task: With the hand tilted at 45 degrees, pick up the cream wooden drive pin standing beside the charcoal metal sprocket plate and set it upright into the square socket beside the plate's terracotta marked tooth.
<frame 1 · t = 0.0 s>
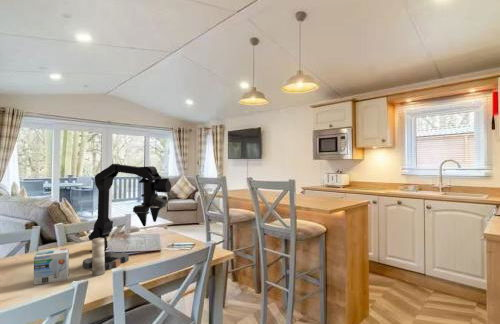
hand: (149, 223, 139), 15 cm above the table, tool pointing down, fingers open, 9 cm apart
light bulb box: (52, 279, 110), on the table
sprocket plate: (106, 263, 127), on the table
drive pin: (98, 273, 115), on the table
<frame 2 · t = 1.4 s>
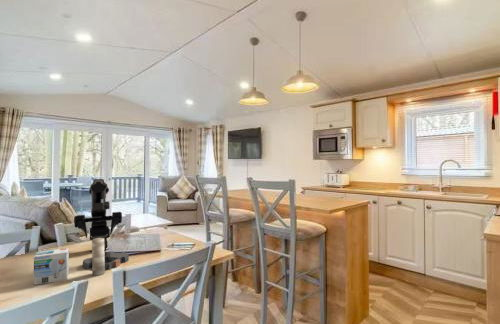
hand: (98, 235, 122), 13 cm above the table, tool tilted 45°, fingers open, 9 cm apart
nothing on the table moved.
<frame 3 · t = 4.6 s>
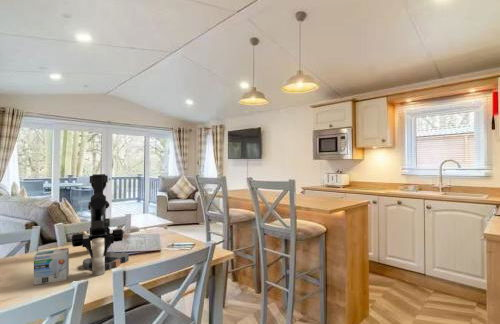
hand: (98, 256, 114), 8 cm above the table, tool tilted 45°, fingers closed on drive pin, 4 cm apart
drive pin: (98, 273, 115), on the table, touching gripper
everything else where it was.
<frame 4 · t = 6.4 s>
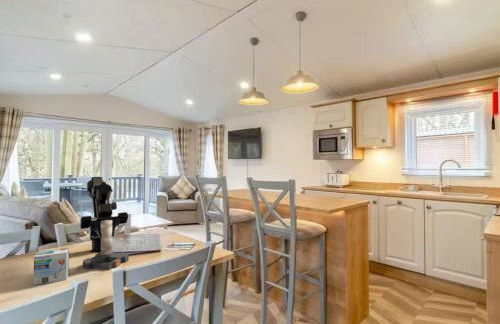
hand: (107, 236, 122), 13 cm above the table, tool tilted 45°, fingers closed on drive pin, 4 cm apart
drive pin: (106, 253, 123), point 6 cm above the table, touching gripper
everything else where it was.
when the fingers open (9 cm above the table, at t = 8.2 s): drive pin drops 1 cm, resting in sprocket plate.
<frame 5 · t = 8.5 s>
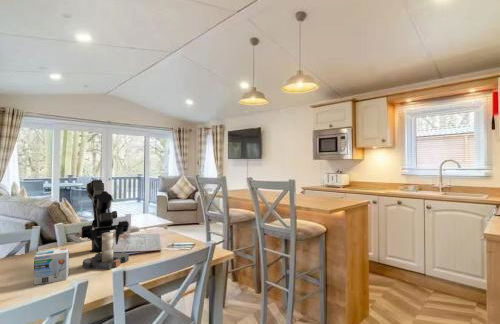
hand: (107, 245, 122), 9 cm above the table, tool tilted 45°, fingers open, 7 cm apart
drive pin: (107, 265, 124), resting in sprocket plate
everything else where it was.
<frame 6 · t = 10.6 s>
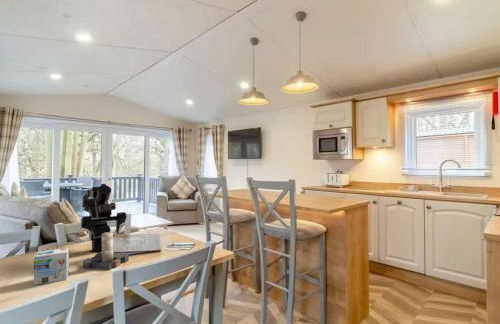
hand: (106, 235, 129), 12 cm above the table, tool tilted 45°, fingers open, 9 cm apart
nothing on the table moved.
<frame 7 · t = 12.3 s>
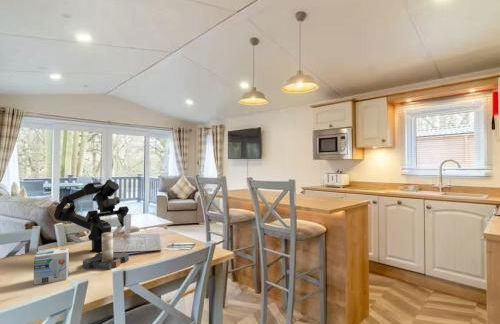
hand: (113, 228, 135), 14 cm above the table, tool tilted 45°, fingers open, 9 cm apart
nothing on the table moved.
at the end: drive pin 0.1 cm from the target spot on the sprocket plate, point 0.0 cm above the sprocket plate's base; drive pin tilted 0°; the gripper is holding nothing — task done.
